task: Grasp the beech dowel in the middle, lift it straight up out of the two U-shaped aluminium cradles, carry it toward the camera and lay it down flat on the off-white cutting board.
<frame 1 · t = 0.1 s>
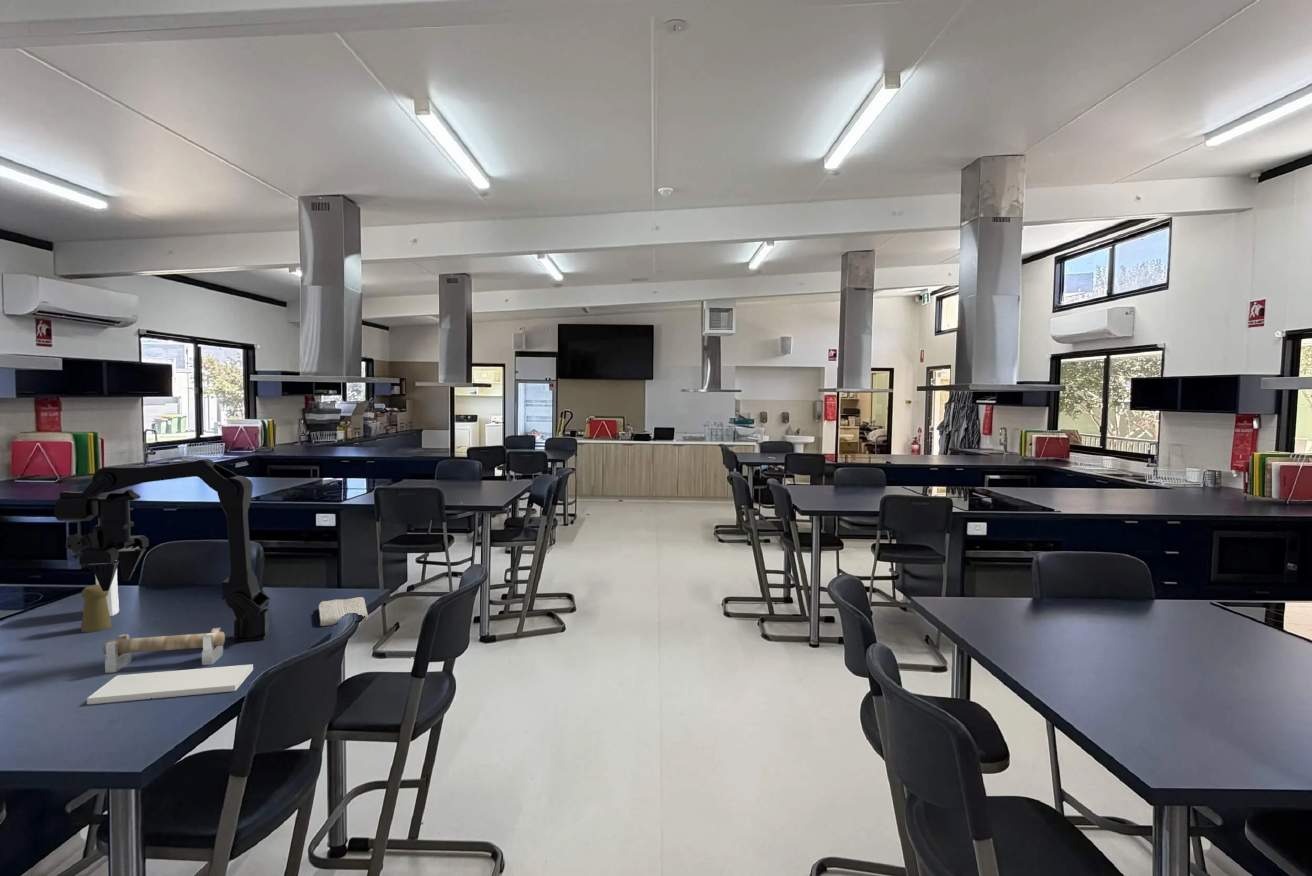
hand: (116, 585, 155), 15 cm above the table, tool pointing down, fingers open, 9 cm apart
squeeze bottle: (107, 613, 180), on the table
beech dowel: (165, 643, 146), point 4 cm above the table, touching aluminium cradles
aluminium cradles: (166, 662, 146), on the table
cork: (96, 628, 168), on the table
cutting board: (175, 685, 135), on the table
washcloth: (343, 616, 181), on the table
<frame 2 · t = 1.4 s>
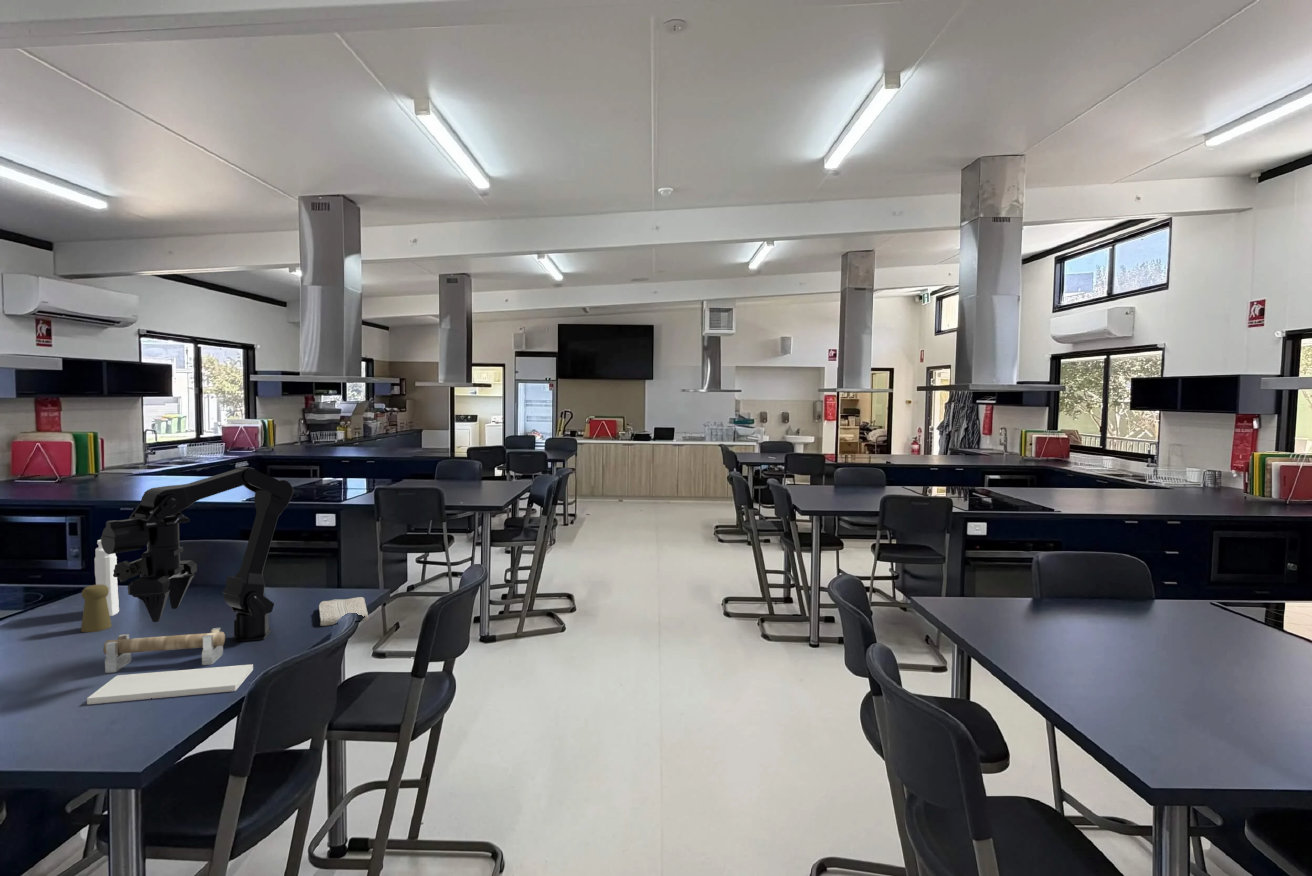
hand: (165, 614, 146), 11 cm above the table, tool pointing down, fingers open, 9 cm apart
nothing on the table moved.
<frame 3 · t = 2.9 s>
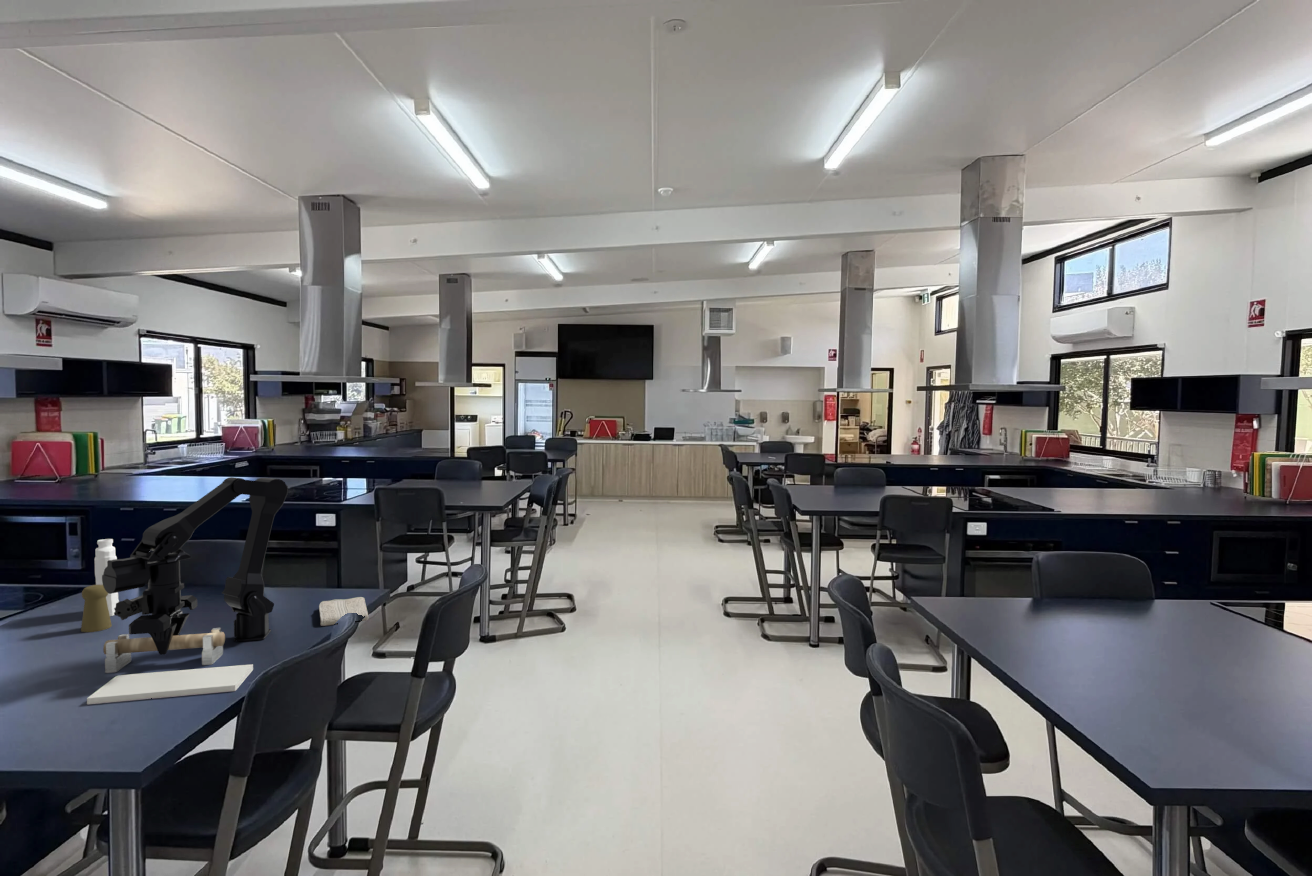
hand: (166, 651, 146), 3 cm above the table, tool pointing down, fingers closed on beech dowel, 3 cm apart
beech dowel: (165, 643, 146), point 4 cm above the table, touching aluminium cradles, gripper
everything else where it was.
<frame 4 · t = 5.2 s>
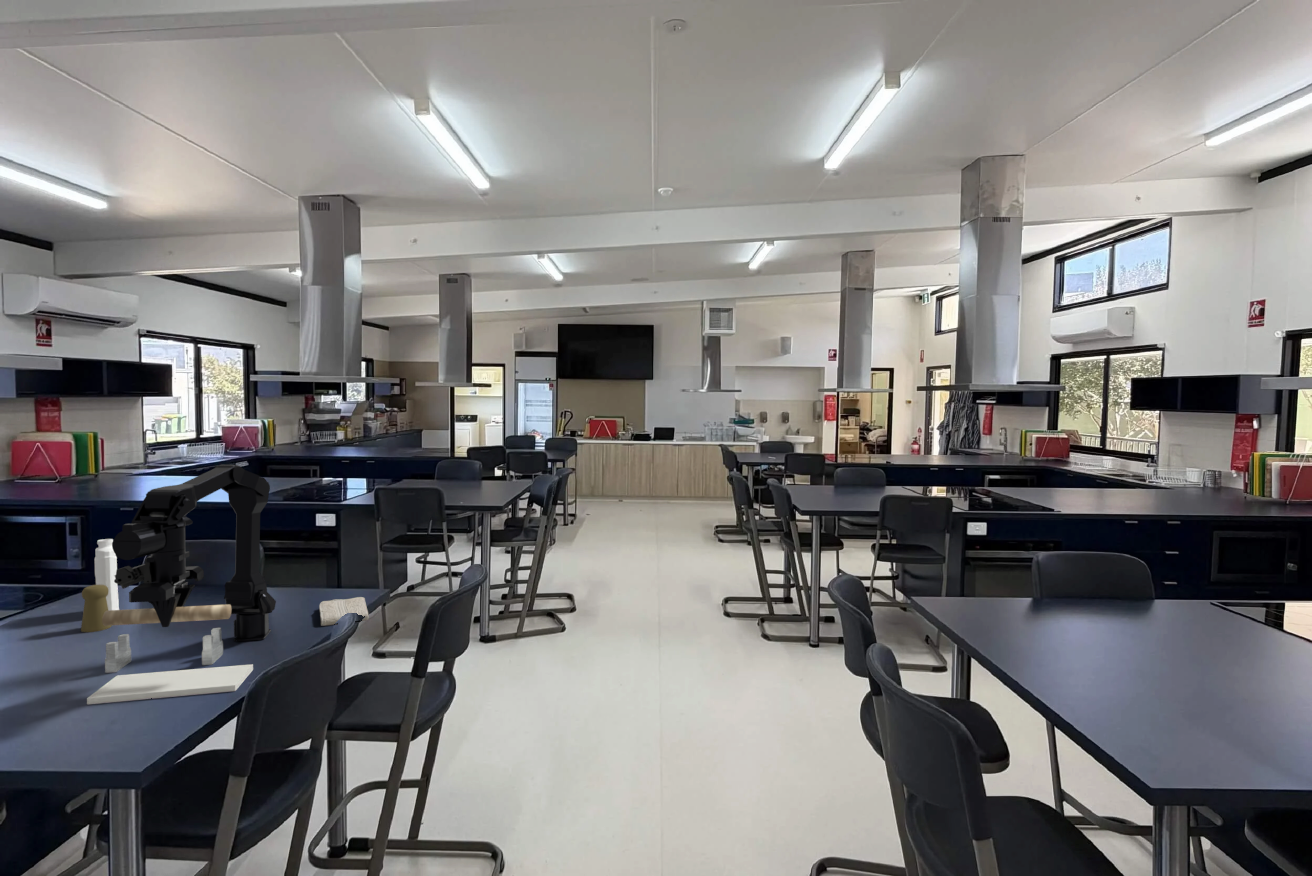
hand: (169, 624, 137), 12 cm above the table, tool pointing down, fingers closed on beech dowel, 3 cm apart
beech dowel: (168, 614, 137), point 14 cm above the table, touching gripper
everything else where it was.
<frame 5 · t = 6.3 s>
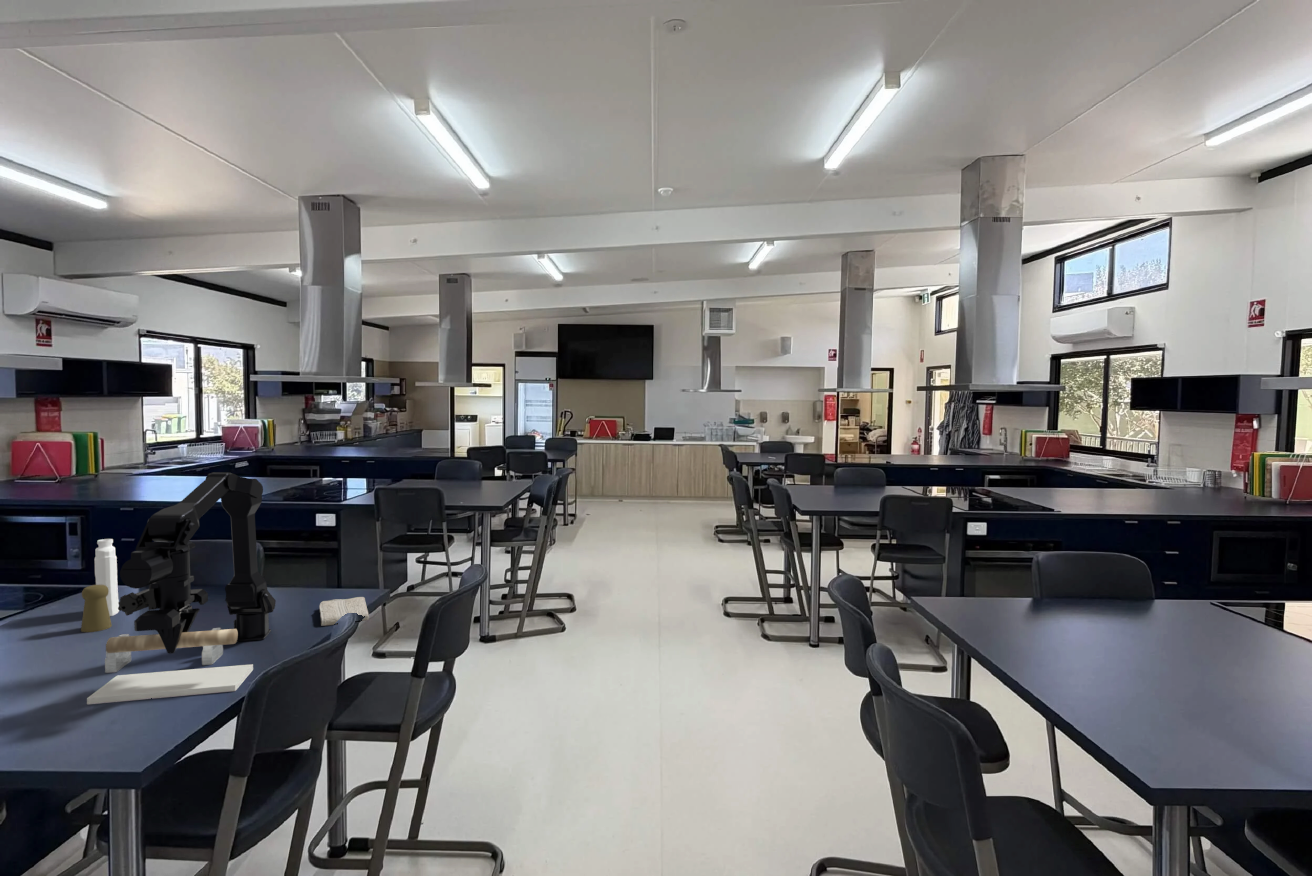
hand: (174, 650, 134), 7 cm above the table, tool pointing down, fingers closed on beech dowel, 3 cm apart
beech dowel: (174, 640, 134), point 9 cm above the table, touching gripper
everything else where it was.
when the fingers open (2 cm above the table, at t = 7.4 s): beech dowel drops 1 cm, resting on cutting board.
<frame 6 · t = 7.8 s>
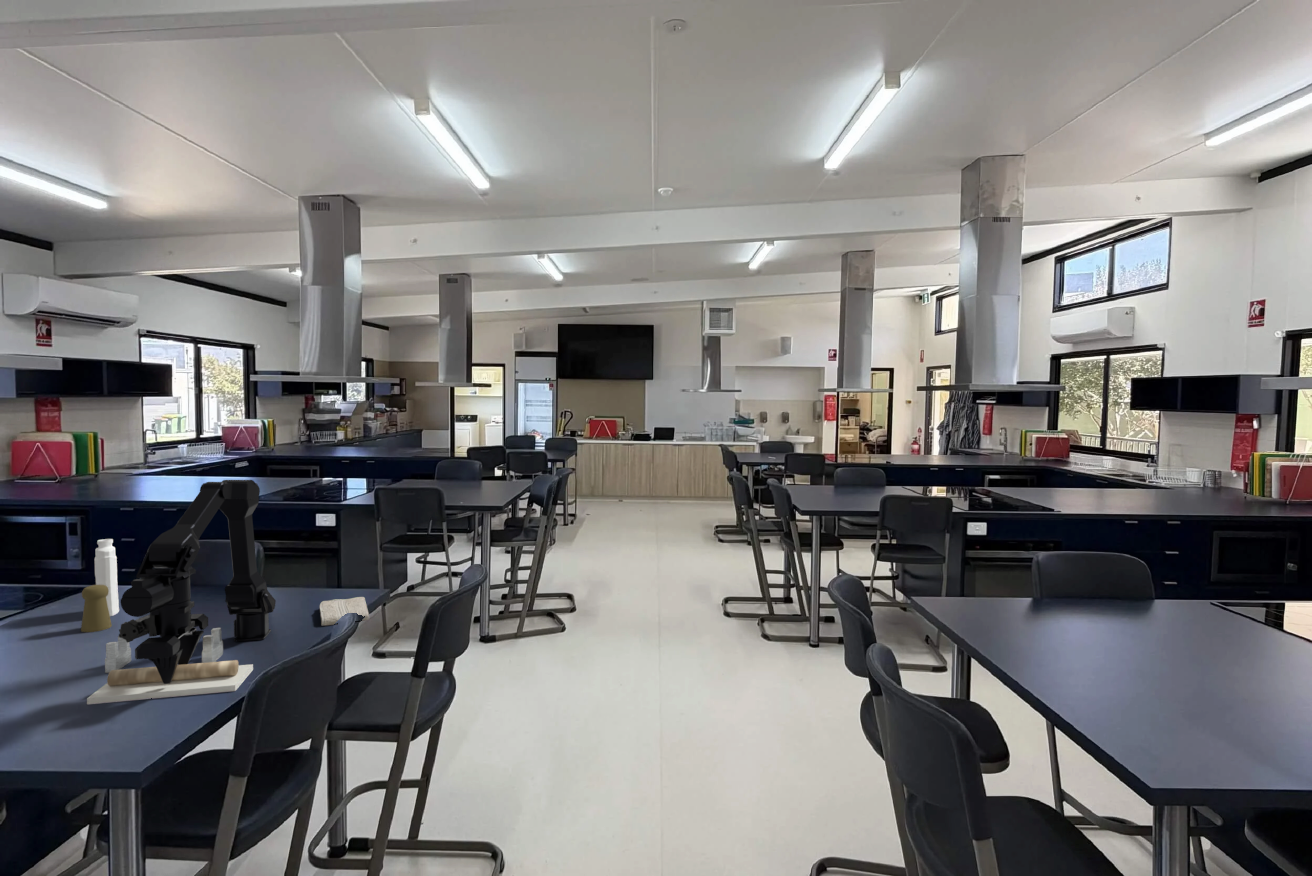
hand: (175, 676, 135), 2 cm above the table, tool pointing down, fingers open, 7 cm apart
beech dowel: (175, 672, 135), point 3 cm above the table, tilted 7°, touching cutting board
everything else where it was.
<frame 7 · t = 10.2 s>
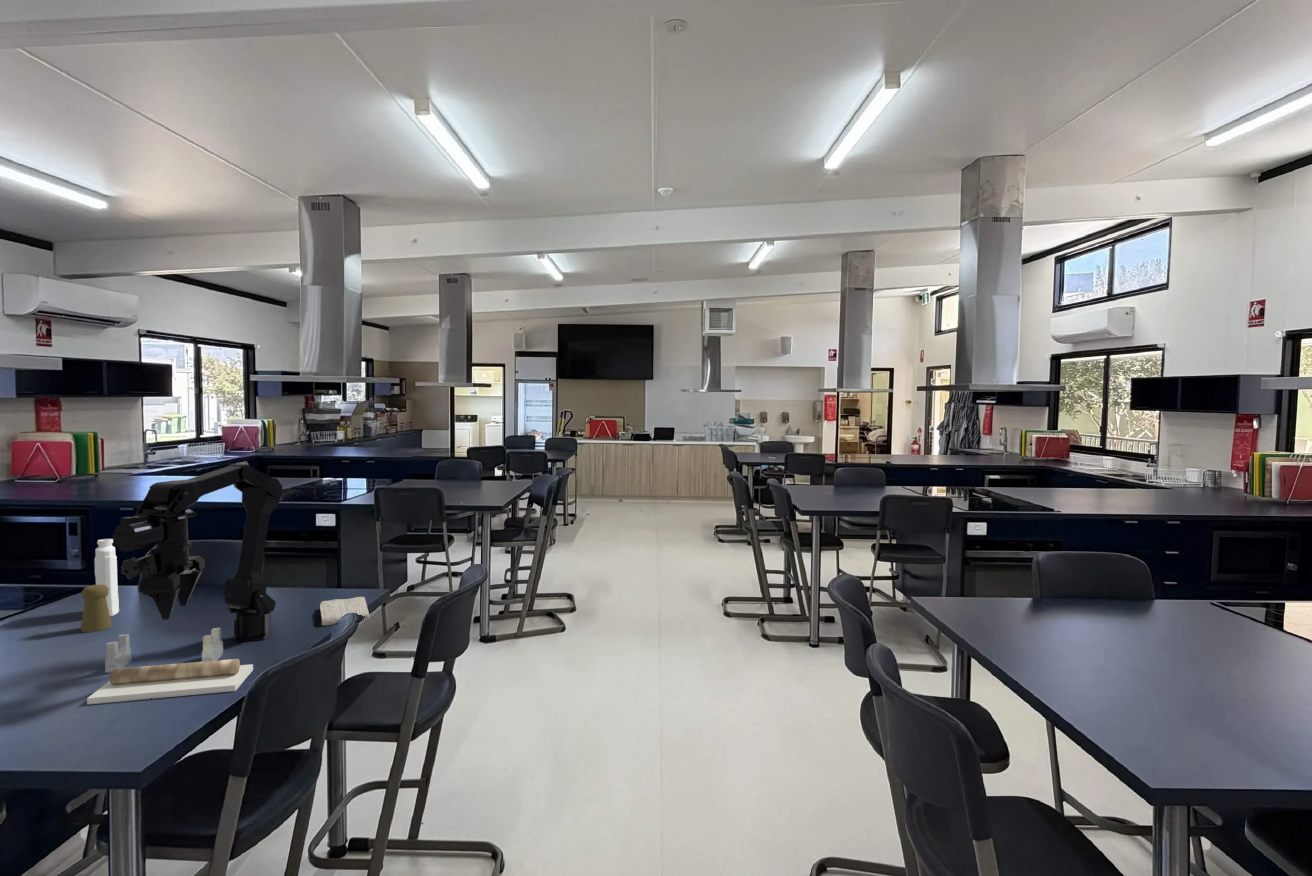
hand: (175, 612, 142), 13 cm above the table, tool pointing down, fingers open, 9 cm apart
beech dowel: (176, 671, 135), point 3 cm above the table, tilted 36°, touching cutting board
everything else where it was.
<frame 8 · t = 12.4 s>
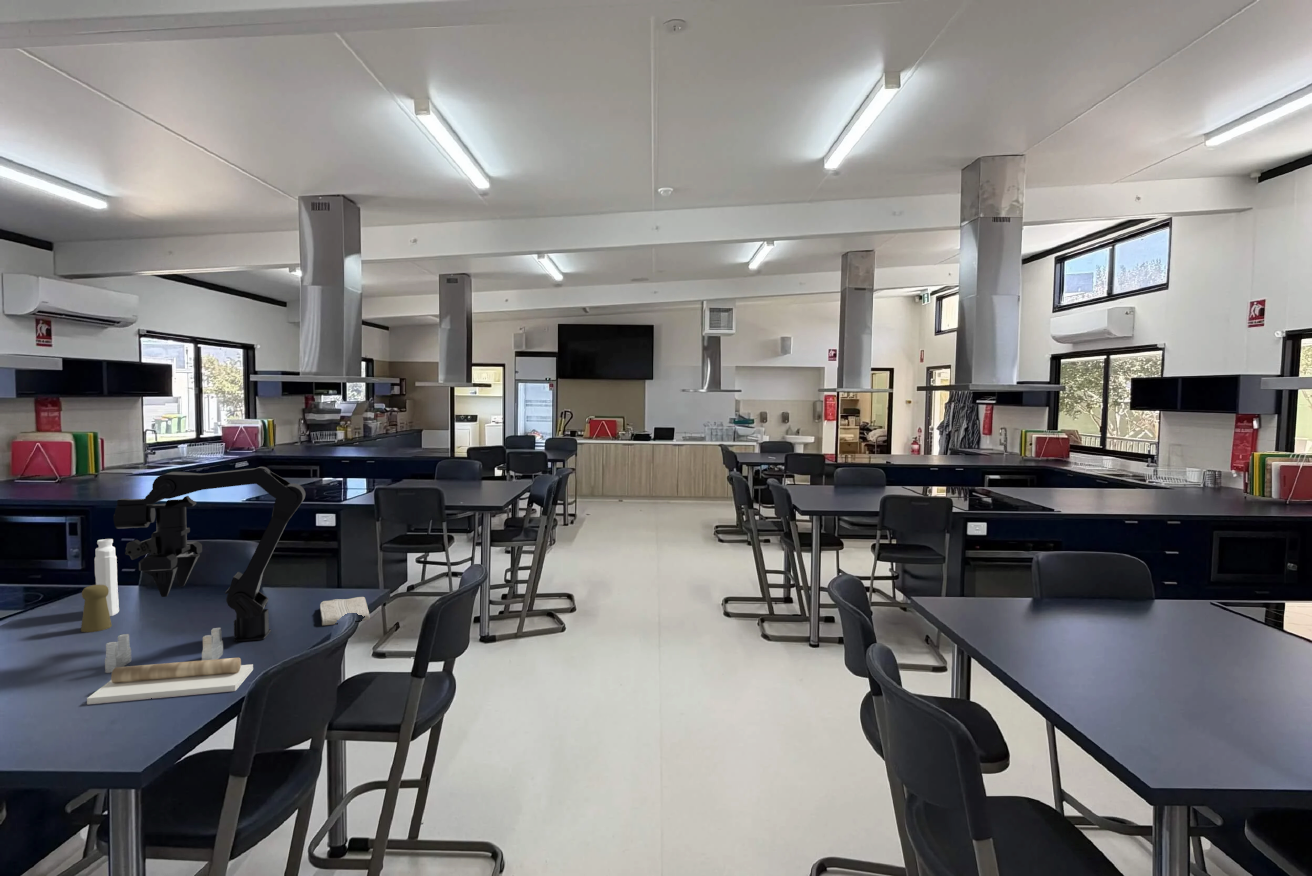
hand: (173, 591, 156), 13 cm above the table, tool pointing down, fingers open, 9 cm apart
beech dowel: (178, 669, 136), point 3 cm above the table, tilted 63°, touching cutting board
everything else where it was.
at the end: beech dowel inside the target area (1.7 cm from its centre), point 2.7 cm above the table; beech dowel touching cutting board; the gripper is holding nothing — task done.
